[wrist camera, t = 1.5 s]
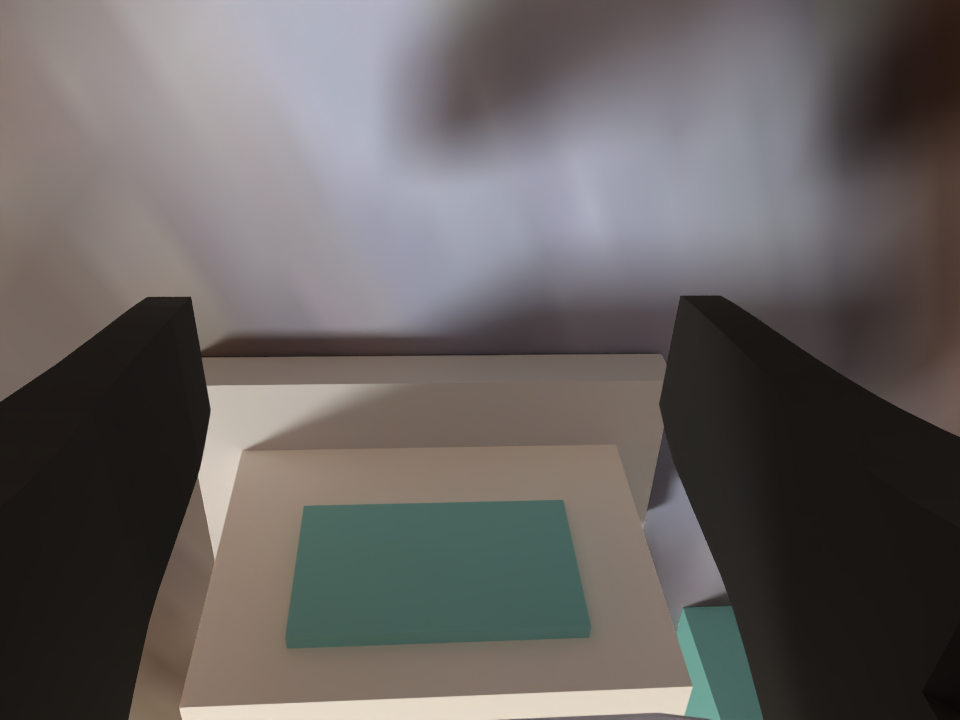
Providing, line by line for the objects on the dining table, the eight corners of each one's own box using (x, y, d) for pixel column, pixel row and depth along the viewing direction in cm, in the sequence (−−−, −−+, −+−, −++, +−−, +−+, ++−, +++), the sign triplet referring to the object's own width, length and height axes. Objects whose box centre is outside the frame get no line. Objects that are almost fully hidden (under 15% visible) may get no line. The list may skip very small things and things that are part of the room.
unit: (661, 353, 18) (778, 614, 13) (629, 519, 21) (713, 794, 15) (191, 357, 18) (85, 638, 12) (222, 529, 20) (150, 823, 15)
